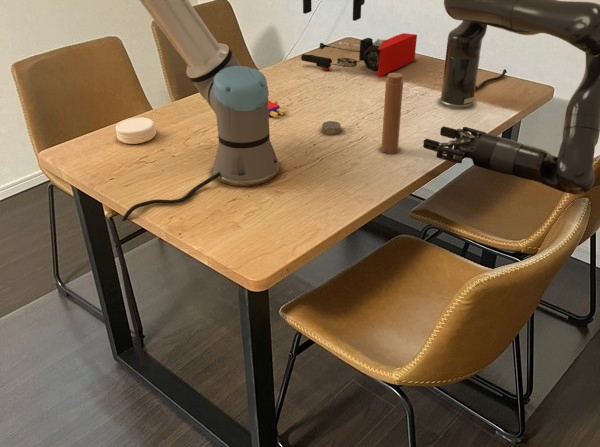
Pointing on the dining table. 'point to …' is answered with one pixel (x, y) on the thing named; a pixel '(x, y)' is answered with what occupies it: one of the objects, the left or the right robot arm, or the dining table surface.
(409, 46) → the electric hoist
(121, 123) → the coaster
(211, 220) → the dining table surface
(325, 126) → the lid
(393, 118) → the brown capped cylinder
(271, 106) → the toy figure
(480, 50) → the right robot arm
